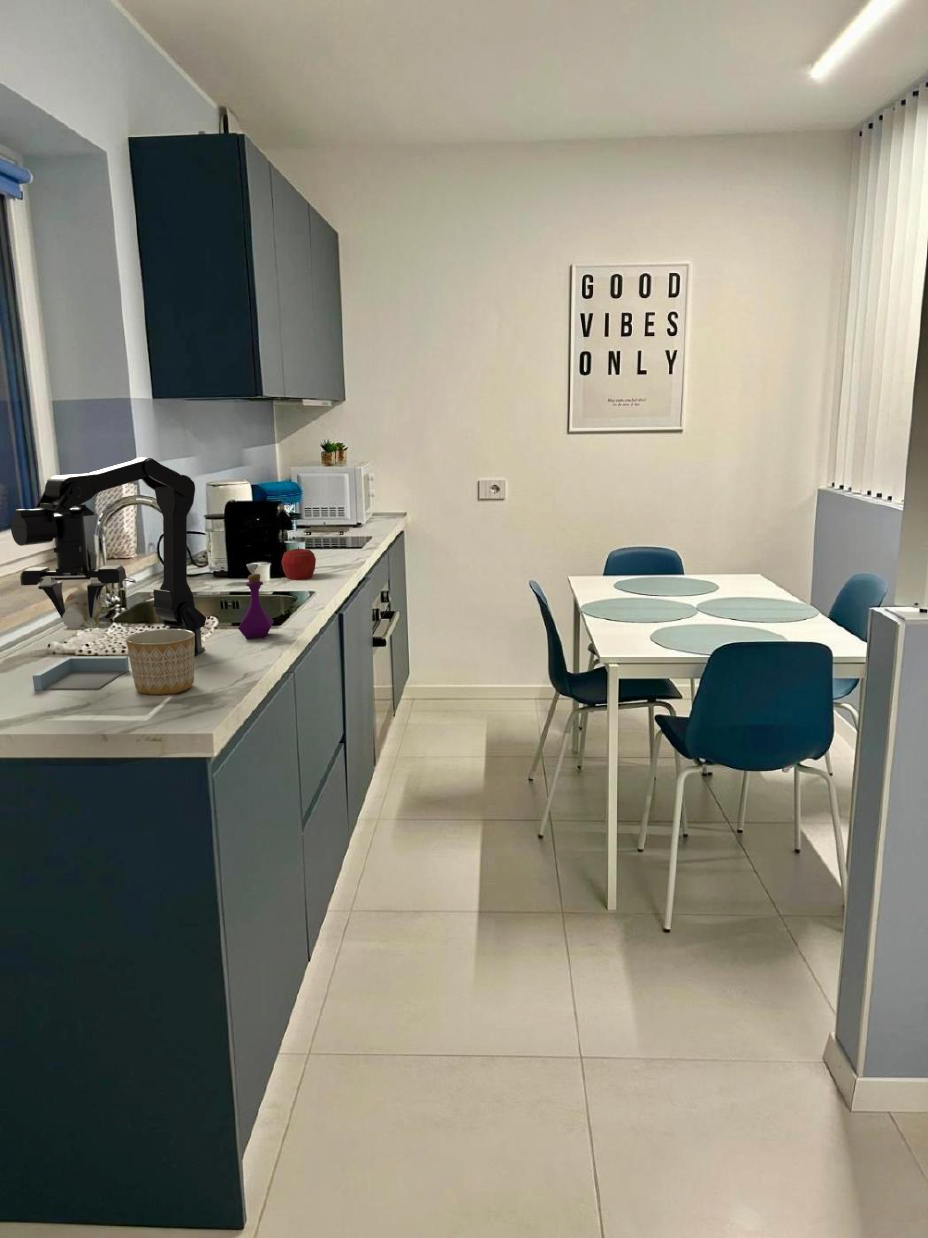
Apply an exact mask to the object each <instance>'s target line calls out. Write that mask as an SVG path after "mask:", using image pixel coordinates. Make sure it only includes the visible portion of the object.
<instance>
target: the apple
mask: <svg viewBox="0 0 928 1238" xmlns="http://www.w3.org/2000/svg"><path fill="white" fill-rule="evenodd" d="M316 561H317V559H316V555H315V553H314V552H313V551H312V550H310V549H307V548H300V547H299V546H298V547H297V548H293V549H290V550H287V551H285V552H284V553H283V555H282V558H281V567H282V571H283V573H284V575H285V576H286V579H288V580H289V581H305V580H309V579H312V577H313V575H314V573H315V570H316Z"/></svg>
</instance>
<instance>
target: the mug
mask: <svg viewBox="0 0 928 1238" xmlns="http://www.w3.org/2000/svg"><path fill="white" fill-rule="evenodd" d="M64 606H65V613H64V614H63V616H62V618H61V619H62V623H63V624H64V625H65V626H66V627H68V628H69V629H78V628H80V627H81V626H84V627H86V628H87V629H98V628H99V627H100V625H101V624H100V619H99V617H100V615H101V613H102V610H103V609H102V607H103V606H102V602H101V599H100V597H99V598H98V602H97V606H96V610H95V613H94V617H93V618H90V615H89V607H88V592H87V589H79V590H75V591H73V592H71V593H69V595H67V597H66V598H65V600H64ZM93 622H95V623H94V624H93ZM91 623H92V624H91Z"/></svg>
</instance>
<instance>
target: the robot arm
mask: <svg viewBox="0 0 928 1238" xmlns="http://www.w3.org/2000/svg"><path fill="white" fill-rule="evenodd" d="M139 480H141V481H142V482H143V483H144V484H145V485H146V486H147V487H149V488H150V489H151V490H153V491H154V494H155V502H156V505H158V508H159V510H160V512H161V514H162V517H163V518H162V524H163V525H162V526H163V527H162V531H163V534H162V535H163V537H162V538H163V541H162V542H163V543H162V546H163V547H162V549H163V553H162V554H163V556H162V557H163V562H162V563H163V565H162V566H163V581H162V583H161V585H160V588H159V589H158V588H154V589H153V592H152V594H153V604H152V608H154V609H155V614H156V615H157V617H159V618H160V619H161V621H162V624H163V626H164V627H168V628H167V629H183V630H189V631H192V632H194V634H195V649H194V657H196V656H199V655H200V653H202V652H203V651H204V650H205V649H206V648H205V646H203V644H202V628H205V625H206V622H207V617H206V616H205V615H204V614H203V613H201V612H200V610H198V609H197V607H196V603H195V598H194V593H193V591H192V589H191V587H190V585H189V583H188V560H187V559H188V557H187V556H188V554H187V553H188V545H187V544H188V538H187V537H188V536H187V535H188V531H187V529H188V527H187V525H188V523H187V522H188V519H187V518H188V516H189V513H190V511H191V509H192V507H193V505H194V501H195V496H196V485H195V484H196V483H195V482H194V480H192V478H191V477H190V476H188V475H185V474H180V473H179V472H177V471H175V469H171V468H169V467H167V466H165V465H163V464H161V463H160V462H158V461H157V460H155V459H154V458H151V457H136V458H135V459H132V460H130V461H126V462H123V463H122V462H121V463H118V464H115V465H113V466H109V467H104V468H102V469H99V470H94V471H91V472H89V473H88V472H87V473H74V474H62V475H53V476H52V477H49V478H48V479H47V480H46V483H45V486H44V491H43V493H42V494H41V497H40V498H39V500H38V501H37V503H36V505H35V507H34V508H33V509H32V508H31V509H25V508H21V509H20V508H19V509H15V511H14V512H15V516H13V520H12V522H11V526H10V532H11V535H12V539H13V541H14V542H15V543H16V545H17V546H21V547H22V546H32V545H39V544H48V543H52V542H53V540H54V547H53V553H55V557H56V566H57V567H56V568H55V570H50V568H49V566H40V567H37V566H36V567H29V568H27V569H25V570H22V572H21V573H20V576H19V578H20V585H21V586H37V585H38V586H37V588H38V590H43V592H44V593H45V594H46V596H47V597H48V598H49V599H50V601H51V603H52V604H53V606H54V607H55V609H56V611H57V613H58V614H59V616H60V618H61V619H62V616H63V614H64V613H65V606H64V602H65V600H64V595H63V581H72V580H73V581H75V580H77V581H79V580H80V581H81V580H83V581H84V580H90V584H88V585H87V586H86V588H87V589H86V590H87V592H88V607H89V615H90V618H93V617H94V613H95V610H96V606H97V602H98V598H99V599H100V595H101V592H102V591H103V588H105V587H106V586H107V585H109V584H120V583H121V582H123V581H125V580H126V579H127V575H126V574H127V573H126V568H125V567H124V566H123V565H120V564H119V565H103V566H101V567H100V568H98V569H97V554H95V553H93V552H92V551H90V548H89V547H90V546H89V543H87V537H86V536H87V535H86V523H85V517H89V516H90V517H91V516H94V515H95V512H94V511H92V510H91V509H90V508H89V507H88V506H87V505H86V504H85V503H86V502H88V501H90V500H92V499H93V498H94V497H95V496H97V495H99V493H102V492H103V491H107V490H110V489H113V488H117V487H119V486H120V487H121V486H123V485H127V484H130V483H133V482H135V481H139ZM205 651H206V650H205Z"/></svg>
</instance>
